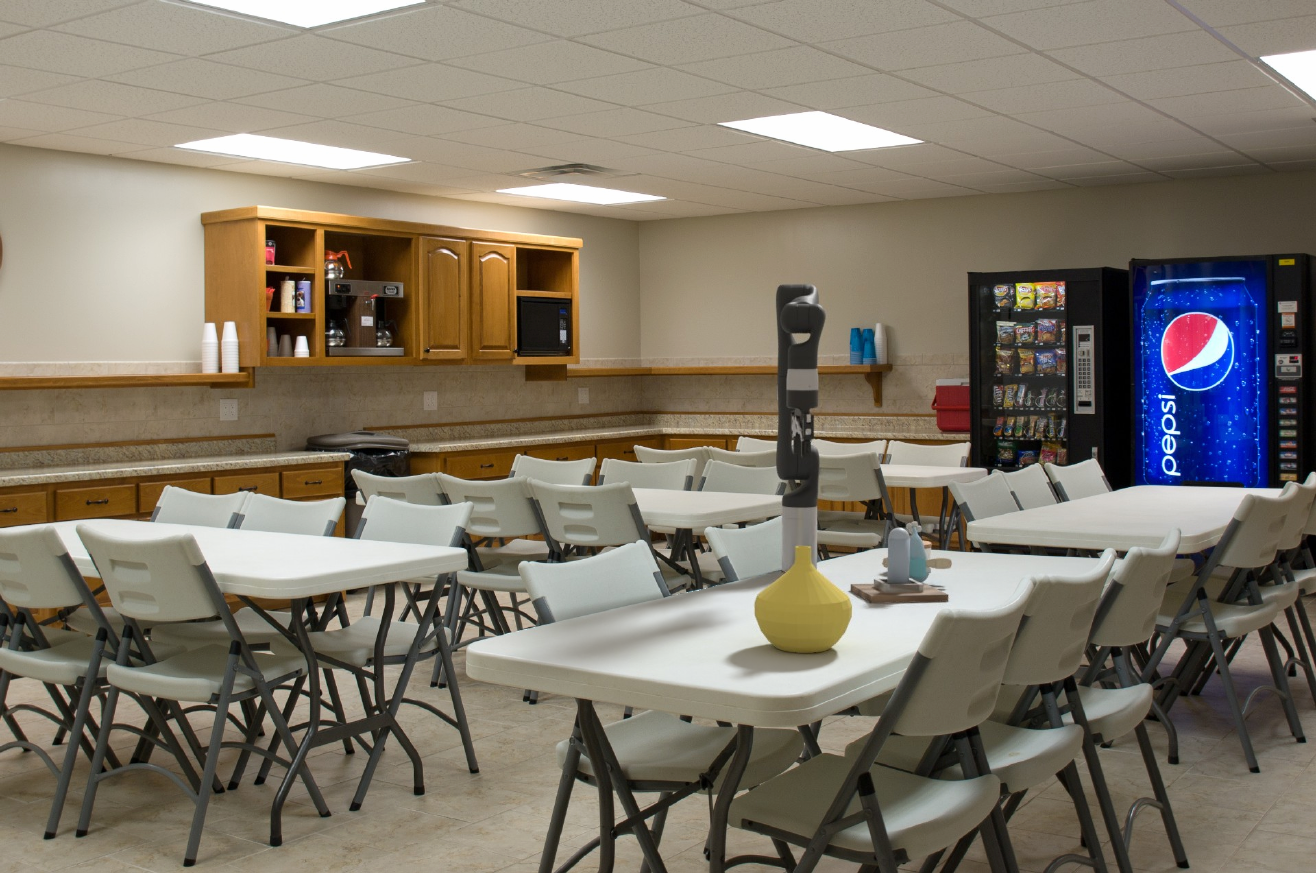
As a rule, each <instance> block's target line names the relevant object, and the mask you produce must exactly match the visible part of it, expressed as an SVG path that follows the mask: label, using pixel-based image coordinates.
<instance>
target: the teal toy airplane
mask: <svg viewBox="0 0 1316 873" xmlns="http://www.w3.org/2000/svg"><path fill="white" fill-rule="evenodd" d="M905 528H906V530H907V531H908V533H909V535H910V536H911V537H910V562H909V578H911V579H913V580H916V581H918V582H920V583H924V582H925V581H926V580H927V579H928V578H929V575H930V574H931V573H932V569H936V570H946V569H948V570H949V569H951V568H952V565H953V563H952V559H951V558H948V557H947V558H946V557H936V558H935V557H934V558H930V559H928V558H927V556H926V553H925V548H924V544H923V541H924V540H922V537H921V536H919V534H918V533H921V532H922V531H923V528H922V526H921V525H919V523H918V521H911V522H909V523H908V522H907V524H906V525H905ZM881 565H882V566H883V567H884V568H886V569H888V556H887V557H884V558H883V559H882V562H881Z"/></svg>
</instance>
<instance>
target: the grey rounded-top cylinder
mask: <svg viewBox="0 0 1316 873" xmlns="http://www.w3.org/2000/svg"><path fill="white" fill-rule="evenodd" d="M909 536H910V533H909V531H908V530H907V529H905V528H903V527H896V528H893V529H892V530H891V531H890V533H889V534H888V536H887V537H888V538H887V539H888V540H887V557H888V568H887V570H886V571H887V576H886V577H887V578H886V579H887V584H909V562H910V537H909Z"/></svg>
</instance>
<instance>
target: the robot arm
mask: <svg viewBox="0 0 1316 873" xmlns="http://www.w3.org/2000/svg"><path fill="white" fill-rule="evenodd" d="M776 289H777V290H776V293H775V309H776V310H775V311H776V313H775V314H776V328H777V330H776V331H777V382H776V384H777V414H778V416H777V417H778V418H777V420H778V422H777V423H778V424H777V437H776V438H777V439H776V454H775V457H776V458H775V467H776V473H777V476H778V478H779V479H780V480H782V481H801V482H802V483H801V485H800V486H799V487H797V488H795V489H794V490H792V491H790V492H787V493H784V494H782V497H781V571H782V572H784V573H786V572H787V571H788V570H789V569H790V568H791V567H792V566H793V564H794V563H795V547H796V546H810V547H811V562H812V564H813V566H814V567H815V568H816V570H817V571H818V498H819V479H820V478H819V477H820V464H821V463H820V453H819V450H818V448H817V447H816V445H813V444H812V442H813V440H814V438H815V415H814V413H811V409H817V408H818V407H819V372H818V358H819V357H818V355H819V354H818V352H819V346H820V340H821V336H822V333H823V330H824V327H825V323H826V319H827V318H826V317H827V316H826V310H825V309H824V308H823V306H822V305H821V304H820V300H819V299H820V297H819V291H818V289H817V287H816V285H813V284H810V283H799V284H798V283H797V284H796V283H790V284H788V283H786V284H780V285H778V287H777V288H776ZM794 334H795V335H796V334H804V335H805V334H810V335H809V337H808V338H807V340H806V341H802V342H799V343H797V341H796V339H795V337H794Z"/></svg>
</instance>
